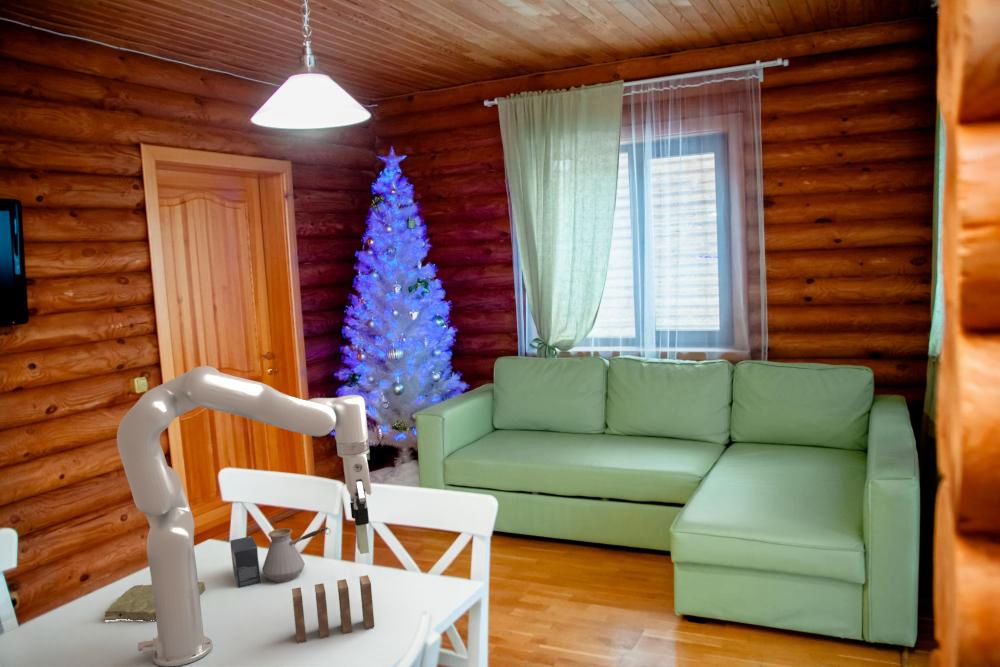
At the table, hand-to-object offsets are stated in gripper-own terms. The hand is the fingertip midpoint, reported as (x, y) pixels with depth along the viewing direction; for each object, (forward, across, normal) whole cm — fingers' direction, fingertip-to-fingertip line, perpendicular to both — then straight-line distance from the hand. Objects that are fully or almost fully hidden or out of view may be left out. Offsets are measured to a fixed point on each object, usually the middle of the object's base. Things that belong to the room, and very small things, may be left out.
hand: (360, 520), depth 193 cm
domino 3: (+24, -5, +6) cm, 25 cm away
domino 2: (+24, -5, +12) cm, 27 cm away
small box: (+24, +39, +28) cm, 53 cm away
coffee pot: (+24, +32, +14) cm, 43 cm away
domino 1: (+24, -5, +17) cm, 29 cm away
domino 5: (+24, -5, +1) cm, 25 cm away
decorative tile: (+24, +31, +51) cm, 64 cm away
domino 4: (+8, 0, 0) cm, 8 cm away
